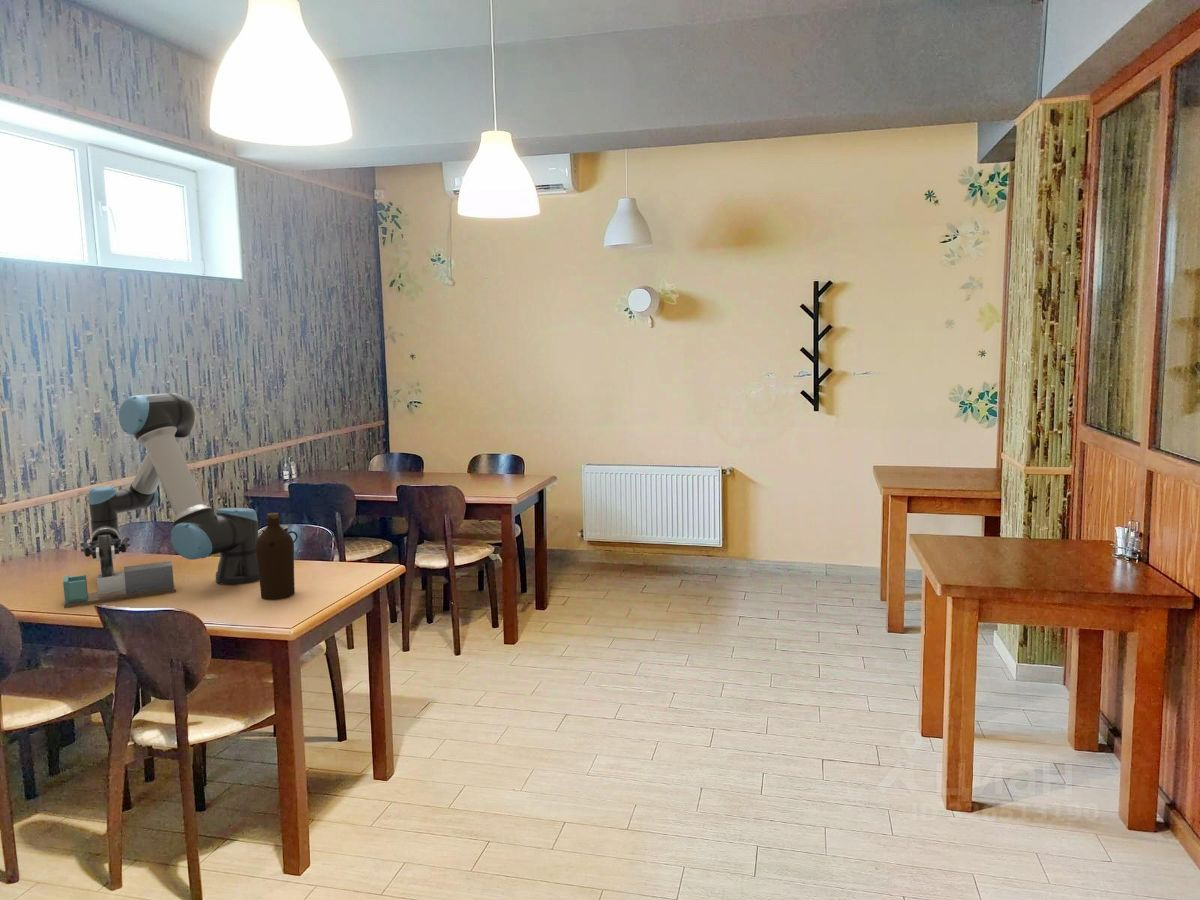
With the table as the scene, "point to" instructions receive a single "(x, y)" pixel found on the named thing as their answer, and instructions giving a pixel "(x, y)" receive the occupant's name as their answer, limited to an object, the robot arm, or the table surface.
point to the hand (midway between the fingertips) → (105, 555)
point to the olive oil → (275, 561)
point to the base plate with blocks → (137, 584)
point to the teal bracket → (75, 588)
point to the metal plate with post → (108, 569)
